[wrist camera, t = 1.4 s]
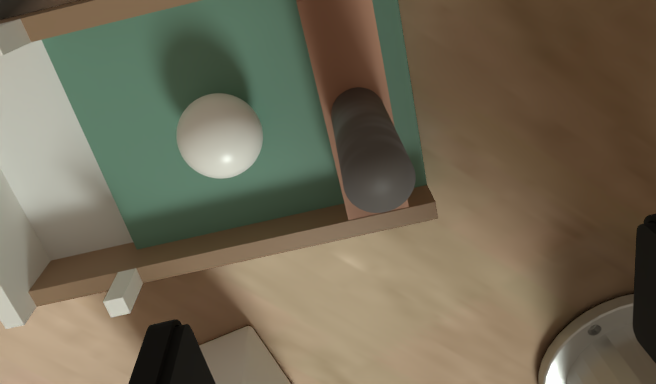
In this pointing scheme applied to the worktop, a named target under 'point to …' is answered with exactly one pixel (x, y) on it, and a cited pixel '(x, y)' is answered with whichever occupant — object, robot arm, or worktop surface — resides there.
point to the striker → (357, 105)
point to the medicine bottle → (241, 359)
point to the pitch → (167, 146)
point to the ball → (219, 135)
